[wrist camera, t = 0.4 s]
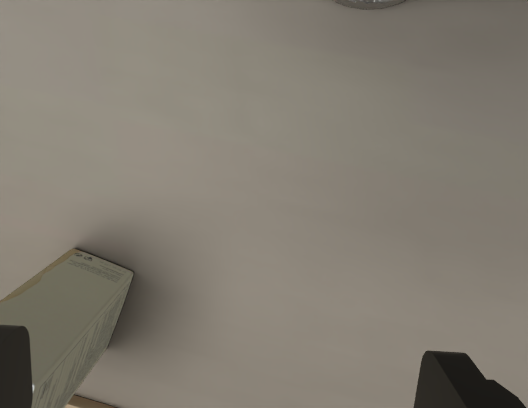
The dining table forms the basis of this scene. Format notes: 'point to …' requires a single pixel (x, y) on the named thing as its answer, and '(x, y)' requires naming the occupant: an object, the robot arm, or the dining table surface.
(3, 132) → the dining table surface
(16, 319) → the skincare box
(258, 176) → the dining table surface
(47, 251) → the dining table surface
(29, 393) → the robot arm
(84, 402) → the carrier plate
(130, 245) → the dining table surface
